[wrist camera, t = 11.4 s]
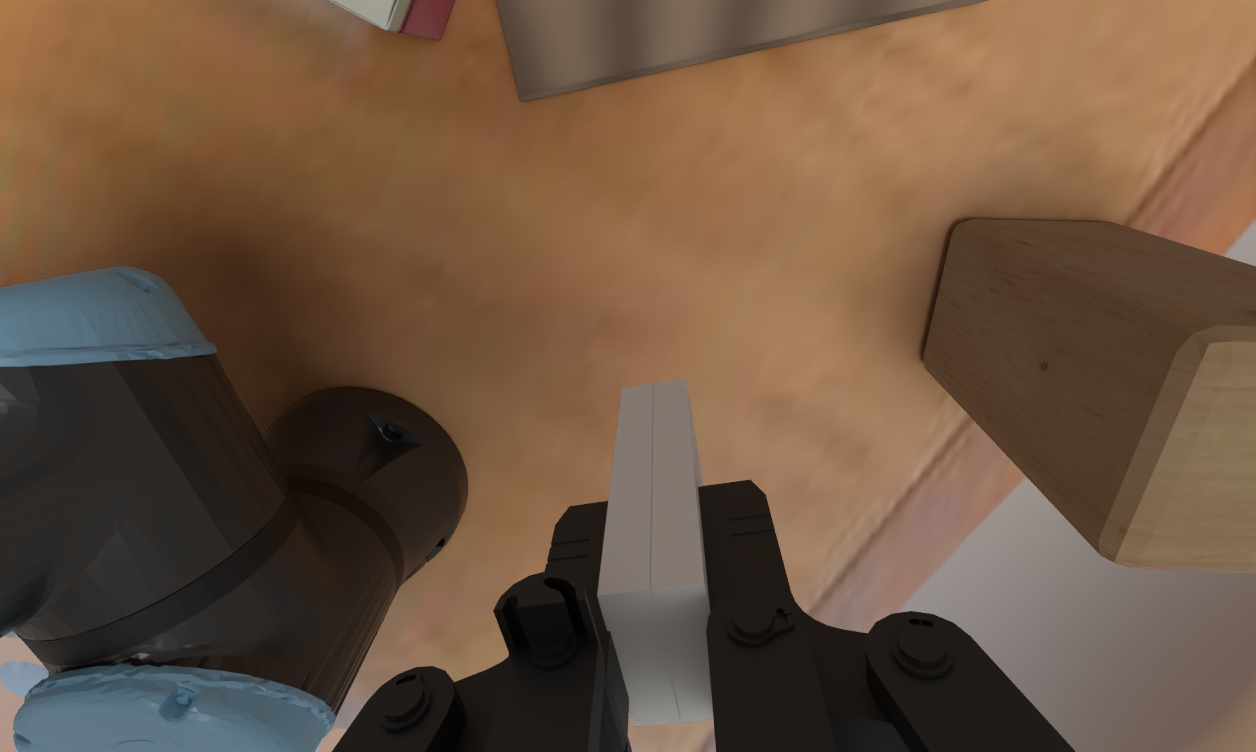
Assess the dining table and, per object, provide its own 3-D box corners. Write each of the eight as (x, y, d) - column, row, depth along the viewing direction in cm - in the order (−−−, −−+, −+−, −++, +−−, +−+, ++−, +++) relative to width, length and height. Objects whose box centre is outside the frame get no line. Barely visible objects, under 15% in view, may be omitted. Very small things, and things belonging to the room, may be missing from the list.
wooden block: (948, 215, 38) (1211, 335, 20) (1118, 219, 38) (1541, 344, 20) (914, 366, 42) (1106, 578, 24) (1066, 371, 42) (1375, 589, 24)
